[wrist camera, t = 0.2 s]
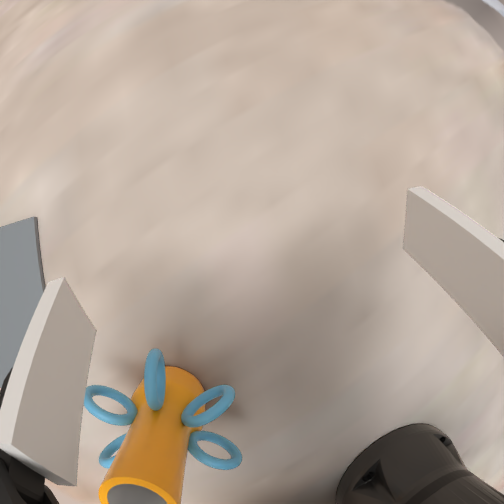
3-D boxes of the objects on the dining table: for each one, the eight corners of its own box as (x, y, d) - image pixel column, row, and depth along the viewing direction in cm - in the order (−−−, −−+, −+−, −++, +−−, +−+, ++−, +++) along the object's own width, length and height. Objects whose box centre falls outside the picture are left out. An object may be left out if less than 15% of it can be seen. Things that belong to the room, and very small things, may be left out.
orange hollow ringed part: (195, 311, 26) (169, 366, 11) (261, 405, 26) (302, 516, 11) (88, 377, 25) (0, 455, 10) (155, 460, 25) (125, 572, 10)
